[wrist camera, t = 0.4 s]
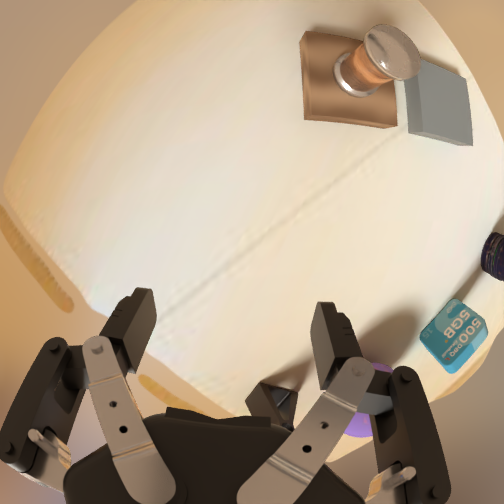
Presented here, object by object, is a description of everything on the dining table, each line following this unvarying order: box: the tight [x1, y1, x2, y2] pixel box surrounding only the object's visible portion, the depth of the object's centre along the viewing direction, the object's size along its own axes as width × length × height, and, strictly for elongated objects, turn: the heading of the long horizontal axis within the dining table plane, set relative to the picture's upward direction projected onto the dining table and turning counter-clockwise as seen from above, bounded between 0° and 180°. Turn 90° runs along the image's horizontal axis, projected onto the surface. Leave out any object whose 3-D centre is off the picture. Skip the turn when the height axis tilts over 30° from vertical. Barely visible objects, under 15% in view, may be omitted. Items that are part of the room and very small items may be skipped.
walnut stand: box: [299, 31, 397, 129], centre depth 31 cm, size 13×13×4 cm
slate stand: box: [404, 59, 473, 146], centre depth 32 cm, size 13×13×4 cm
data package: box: [420, 299, 488, 374], centre depth 41 cm, size 12×4×12 cm, turn 136°
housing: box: [333, 24, 421, 98], centre depth 24 cm, size 7×7×11 cm
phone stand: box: [245, 382, 298, 432], centre depth 43 cm, size 9×6×12 cm, turn 62°
